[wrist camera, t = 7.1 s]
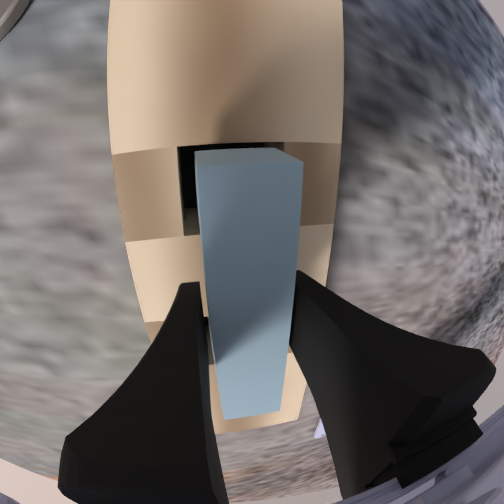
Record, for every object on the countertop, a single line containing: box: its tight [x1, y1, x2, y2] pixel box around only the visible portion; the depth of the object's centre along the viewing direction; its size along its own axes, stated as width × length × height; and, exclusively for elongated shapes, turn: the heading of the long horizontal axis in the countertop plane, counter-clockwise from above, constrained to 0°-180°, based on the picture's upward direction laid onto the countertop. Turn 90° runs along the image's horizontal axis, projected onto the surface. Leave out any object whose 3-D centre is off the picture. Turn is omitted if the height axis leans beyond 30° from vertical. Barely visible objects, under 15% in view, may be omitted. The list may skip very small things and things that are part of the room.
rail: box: [107, 0, 344, 434], centre depth 13 cm, size 8×26×3 cm, turn 0°
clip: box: [194, 148, 304, 420], centre depth 11 cm, size 2×10×6 cm, turn 0°
